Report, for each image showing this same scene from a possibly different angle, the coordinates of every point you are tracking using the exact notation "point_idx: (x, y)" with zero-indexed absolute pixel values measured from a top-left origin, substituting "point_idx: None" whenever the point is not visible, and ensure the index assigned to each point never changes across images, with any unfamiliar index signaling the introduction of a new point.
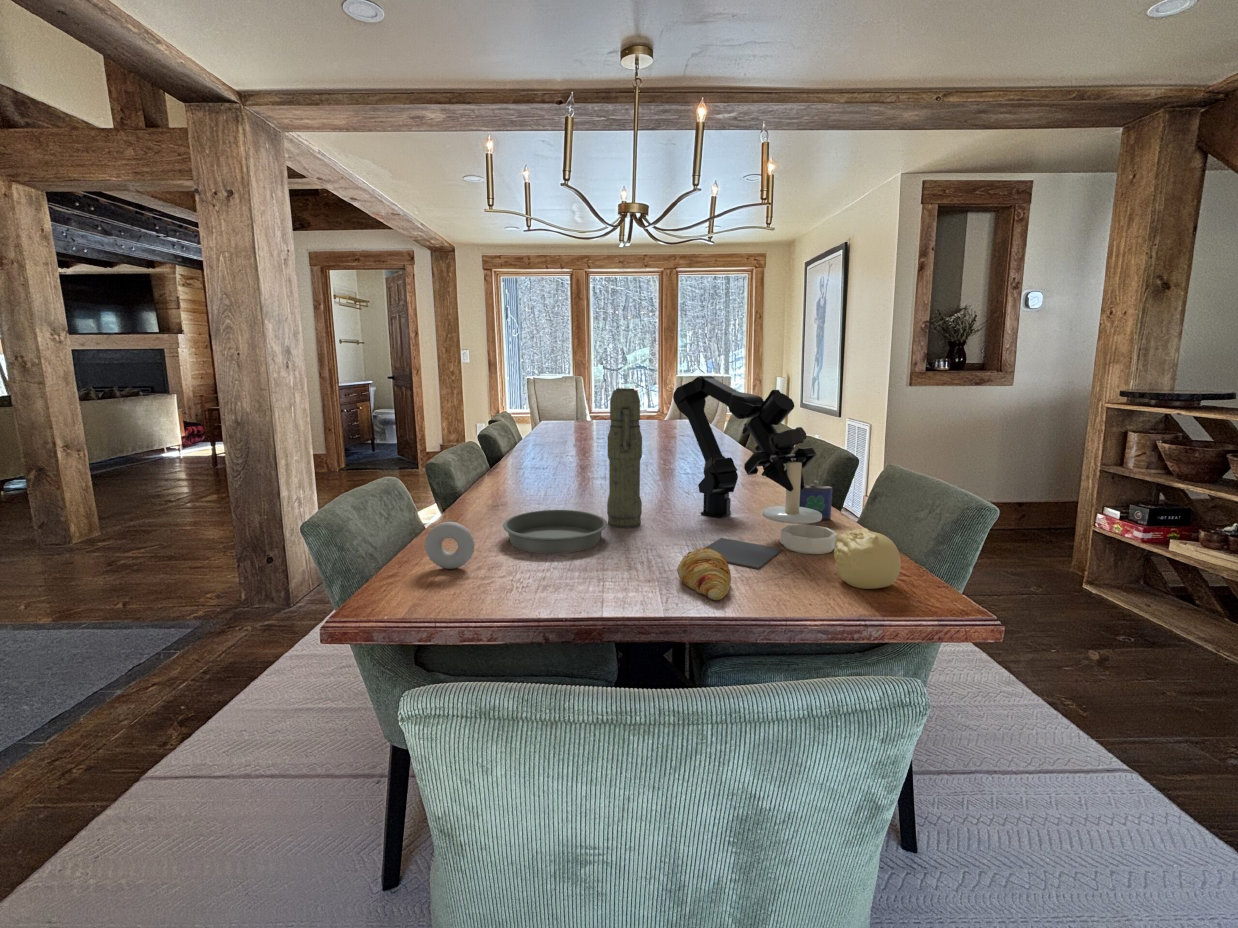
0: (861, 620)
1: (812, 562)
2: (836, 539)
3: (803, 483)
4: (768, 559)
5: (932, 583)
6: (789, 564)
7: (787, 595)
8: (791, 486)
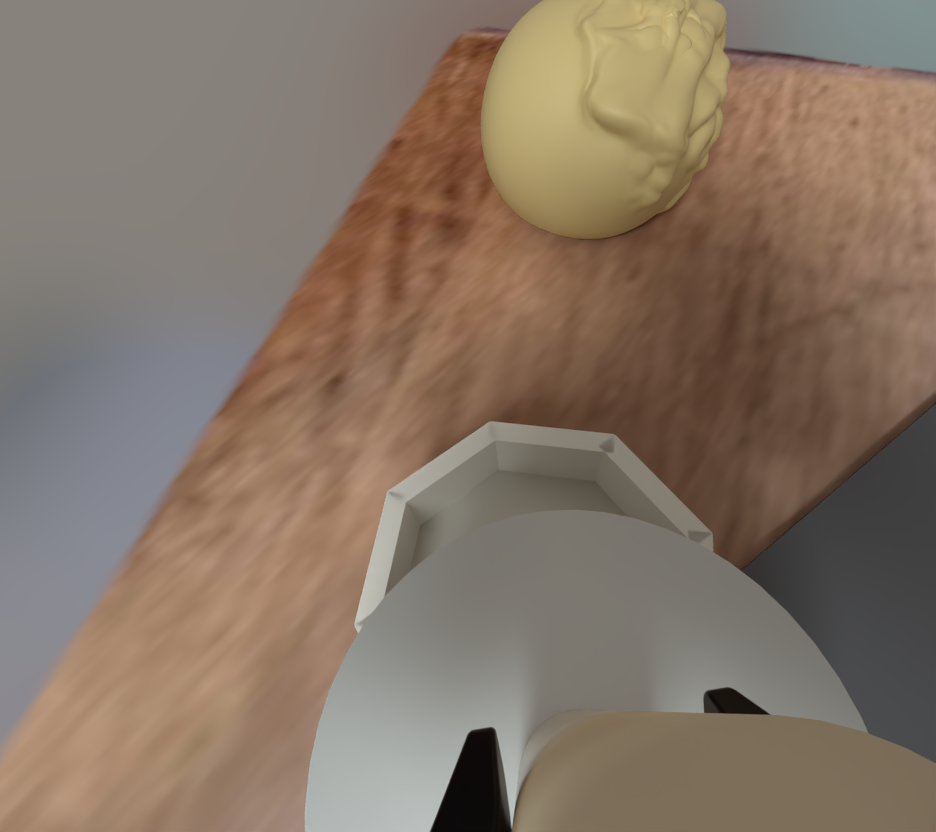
0: (756, 51)
1: (652, 391)
2: (685, 131)
3: (463, 776)
4: (878, 456)
5: (388, 162)
6: (776, 398)
7: (908, 174)
8: (752, 708)
